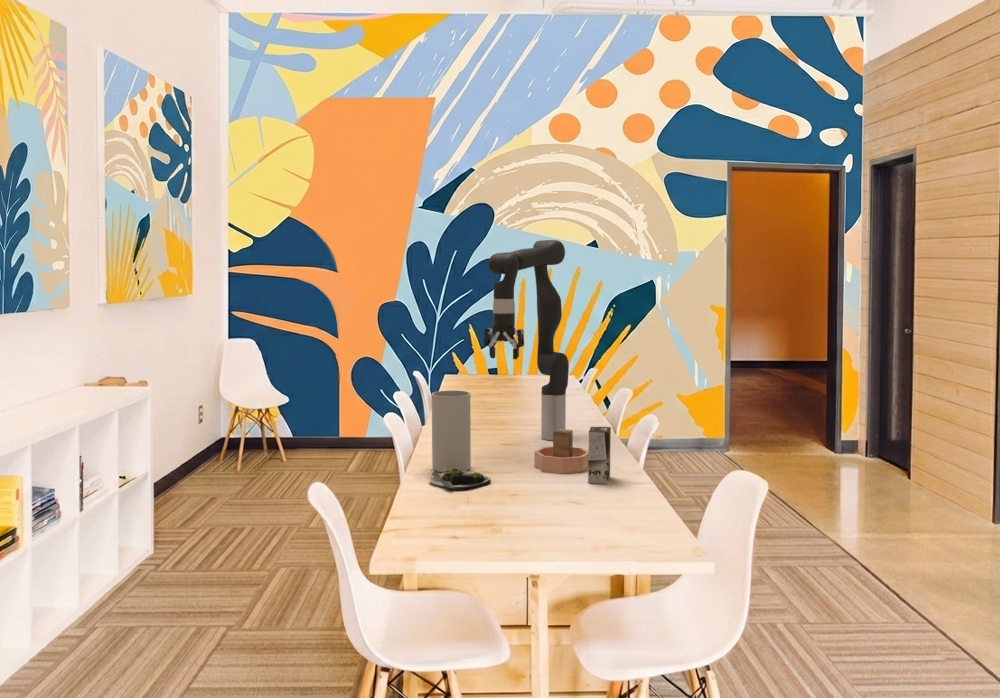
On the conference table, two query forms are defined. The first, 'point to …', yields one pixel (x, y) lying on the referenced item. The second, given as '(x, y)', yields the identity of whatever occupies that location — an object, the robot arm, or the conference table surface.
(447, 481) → the salad plate
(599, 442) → the coffee box
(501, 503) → the conference table surface
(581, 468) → the bowl
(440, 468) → the cylinder vase
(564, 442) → the walnut block
